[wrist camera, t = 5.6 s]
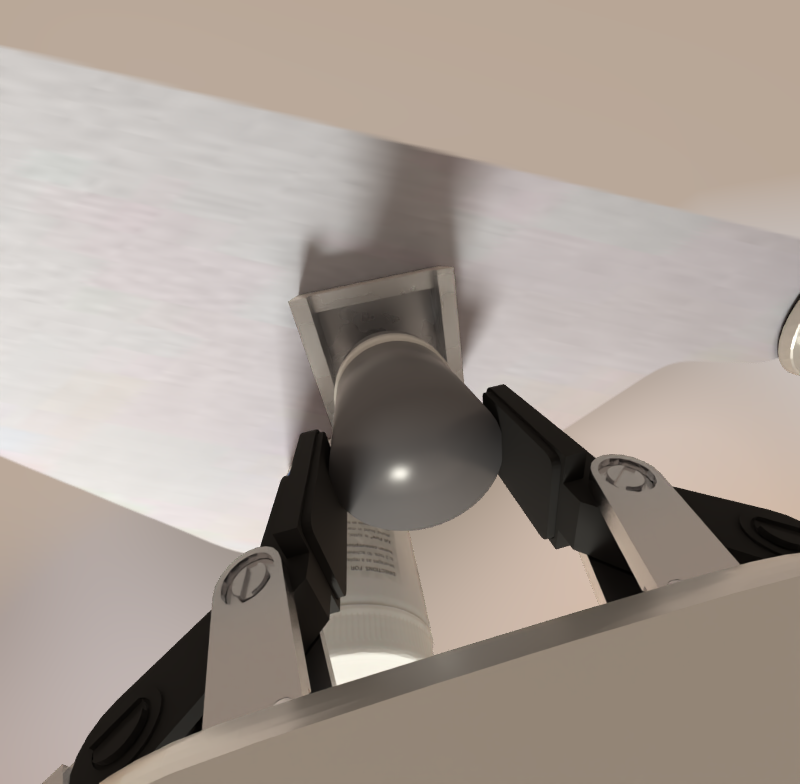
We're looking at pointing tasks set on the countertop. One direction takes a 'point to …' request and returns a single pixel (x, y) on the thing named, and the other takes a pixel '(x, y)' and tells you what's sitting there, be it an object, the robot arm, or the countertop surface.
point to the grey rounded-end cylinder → (408, 436)
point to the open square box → (377, 320)
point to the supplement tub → (378, 606)
